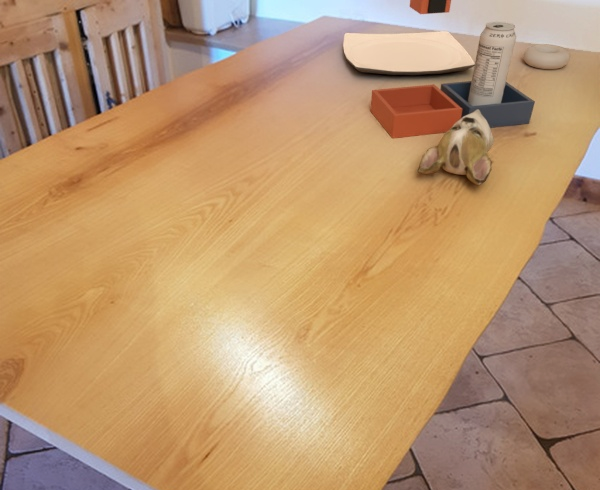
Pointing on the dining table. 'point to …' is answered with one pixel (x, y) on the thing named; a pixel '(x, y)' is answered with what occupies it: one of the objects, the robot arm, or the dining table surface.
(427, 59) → the plate
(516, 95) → the slate bin
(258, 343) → the dining table surface
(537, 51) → the donut
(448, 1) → the terracotta block
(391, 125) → the clay bin
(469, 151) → the ceramic sculpture
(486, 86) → the energy drink can
